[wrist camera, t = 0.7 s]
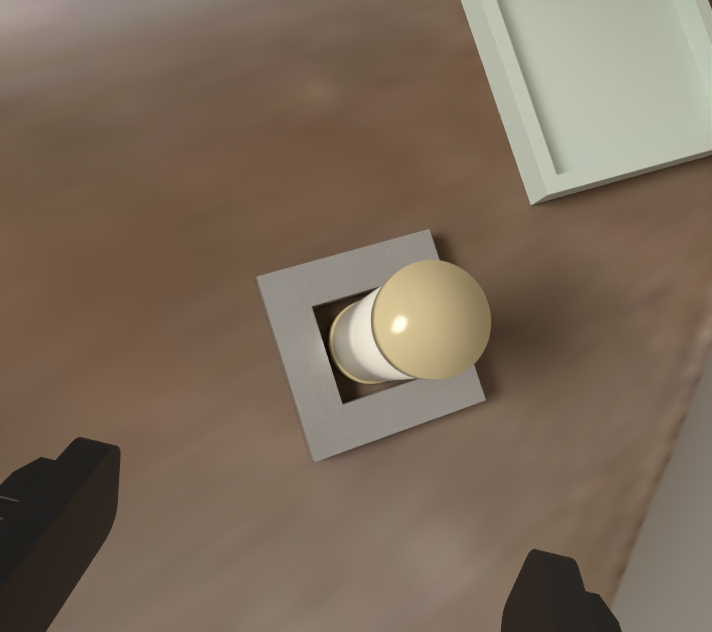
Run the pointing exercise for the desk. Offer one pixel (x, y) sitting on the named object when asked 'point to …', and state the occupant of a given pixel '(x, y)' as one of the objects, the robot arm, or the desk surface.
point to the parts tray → (597, 86)
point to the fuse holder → (310, 362)
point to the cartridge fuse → (413, 326)
